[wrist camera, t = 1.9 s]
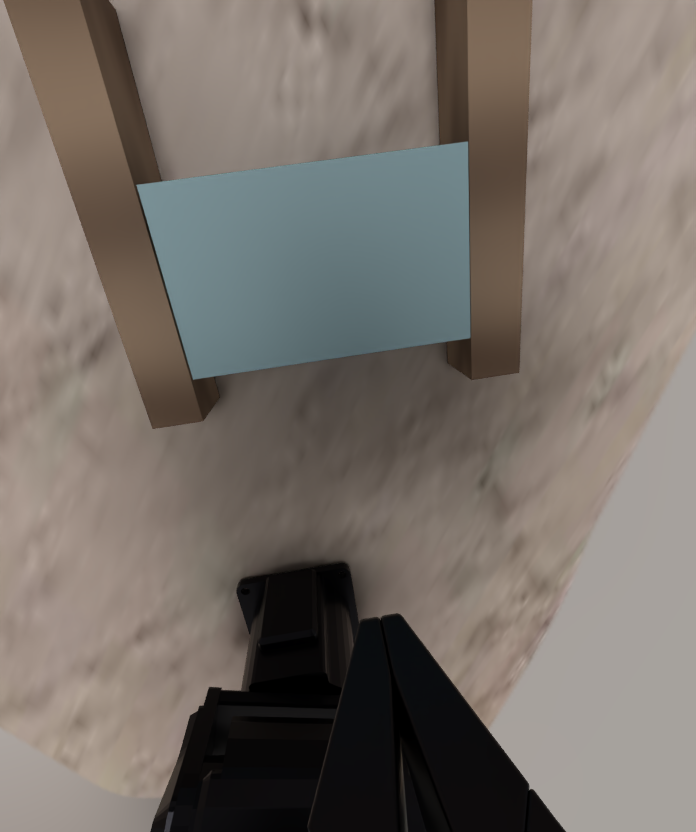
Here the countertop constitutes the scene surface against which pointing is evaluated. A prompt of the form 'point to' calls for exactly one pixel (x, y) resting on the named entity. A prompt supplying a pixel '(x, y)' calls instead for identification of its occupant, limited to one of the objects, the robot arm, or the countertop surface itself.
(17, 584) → the countertop surface
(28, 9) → the walnut chute
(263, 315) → the slate-blue block
